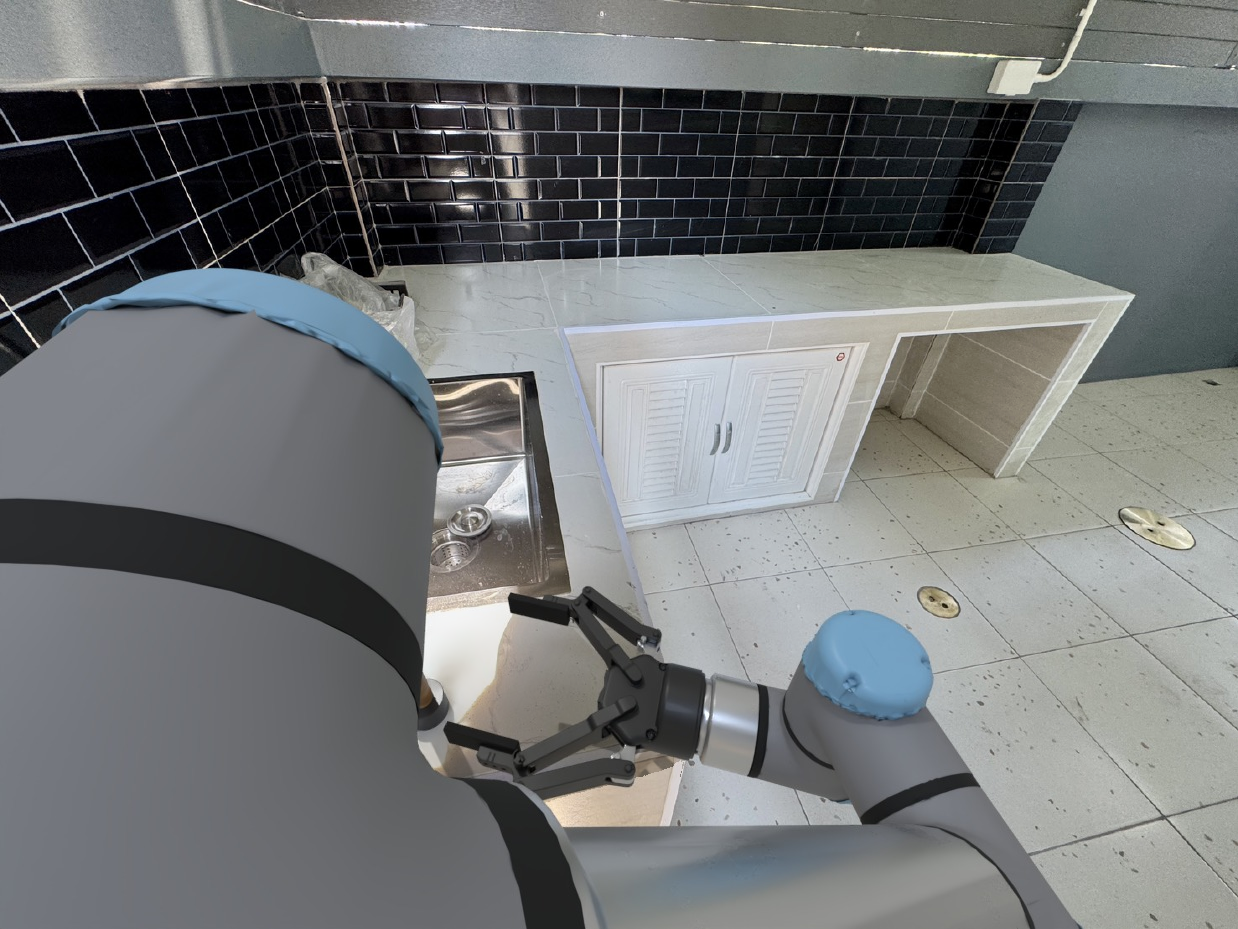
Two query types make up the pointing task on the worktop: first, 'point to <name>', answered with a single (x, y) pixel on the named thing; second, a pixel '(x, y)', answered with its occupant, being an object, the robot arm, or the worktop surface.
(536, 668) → the worktop surface
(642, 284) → the worktop surface
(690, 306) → the worktop surface
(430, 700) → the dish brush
